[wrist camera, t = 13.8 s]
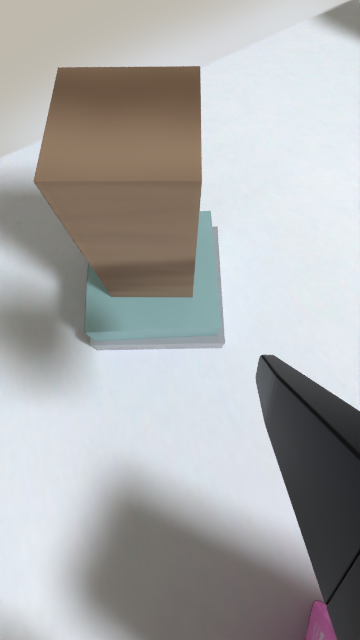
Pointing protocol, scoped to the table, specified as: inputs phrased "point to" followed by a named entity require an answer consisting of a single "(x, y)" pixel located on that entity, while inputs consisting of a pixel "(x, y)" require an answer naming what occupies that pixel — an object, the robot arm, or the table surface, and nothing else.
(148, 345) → the grey base slab
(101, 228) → the walnut block
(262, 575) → the table surface
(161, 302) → the teal top slab
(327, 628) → the gum box
